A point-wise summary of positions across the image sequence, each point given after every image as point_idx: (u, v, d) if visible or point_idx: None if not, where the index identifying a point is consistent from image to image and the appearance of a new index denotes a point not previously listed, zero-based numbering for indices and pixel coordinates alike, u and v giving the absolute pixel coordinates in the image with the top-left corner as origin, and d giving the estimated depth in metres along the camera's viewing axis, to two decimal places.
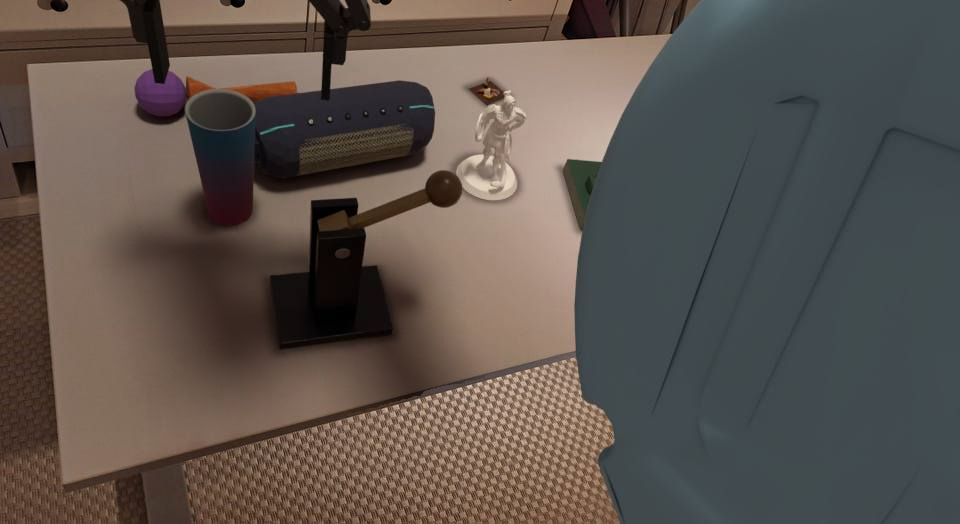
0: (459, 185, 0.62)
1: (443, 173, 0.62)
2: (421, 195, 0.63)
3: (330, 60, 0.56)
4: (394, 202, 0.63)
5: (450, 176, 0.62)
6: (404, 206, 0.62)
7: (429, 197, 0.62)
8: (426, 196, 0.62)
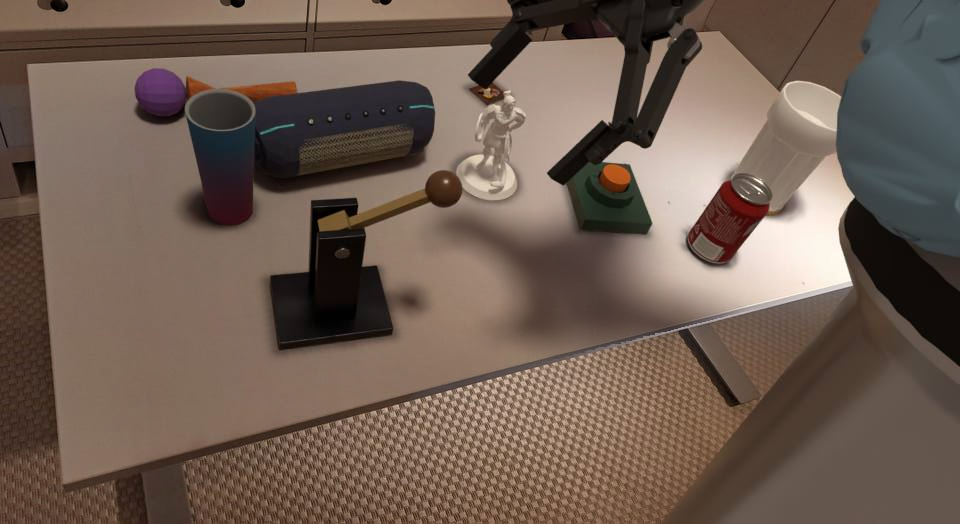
0: (459, 185, 0.62)
1: (443, 173, 0.62)
2: (421, 195, 0.63)
3: (586, 144, 0.56)
4: (394, 202, 0.63)
5: (450, 176, 0.62)
6: (404, 206, 0.62)
7: (429, 197, 0.62)
8: (426, 196, 0.62)
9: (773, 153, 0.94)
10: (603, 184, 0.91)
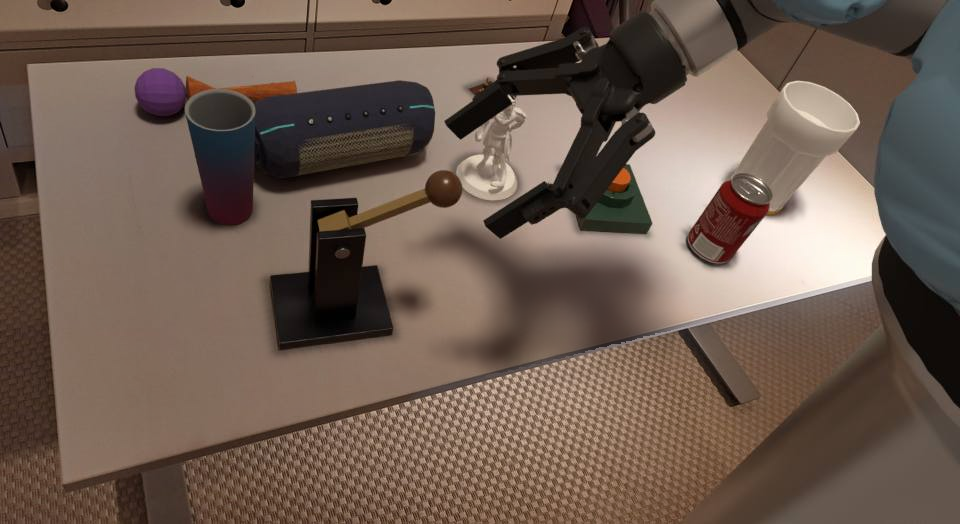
0: (459, 185, 0.62)
1: (443, 173, 0.62)
2: (421, 195, 0.63)
3: (524, 200, 0.57)
4: (394, 202, 0.63)
5: (450, 176, 0.62)
6: (404, 206, 0.62)
7: (429, 197, 0.62)
8: (426, 196, 0.62)
9: (773, 153, 0.94)
10: None
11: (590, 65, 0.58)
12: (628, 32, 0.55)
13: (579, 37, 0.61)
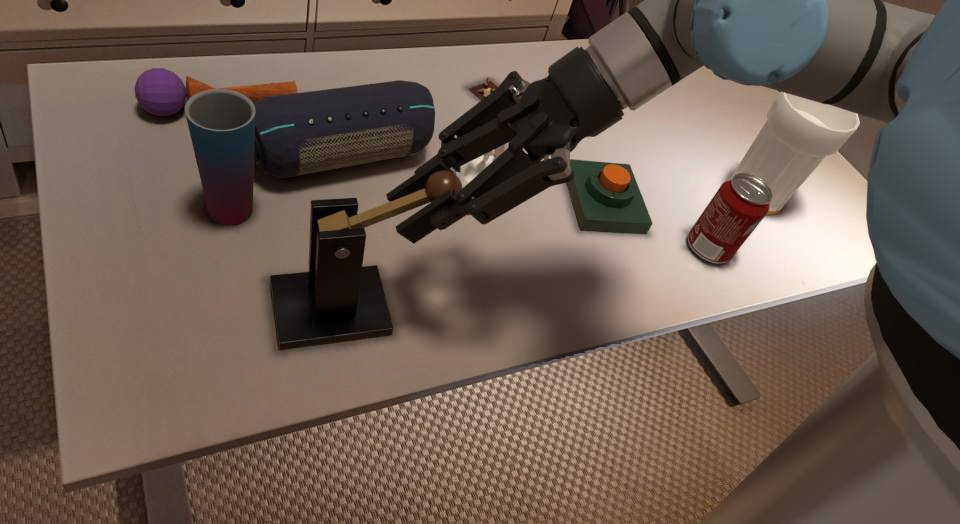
0: (459, 185, 0.62)
1: (443, 173, 0.62)
2: (421, 195, 0.63)
3: (431, 208, 0.61)
4: (394, 202, 0.63)
5: (450, 176, 0.62)
6: (404, 206, 0.62)
7: (429, 197, 0.62)
8: (426, 196, 0.62)
9: (773, 153, 0.94)
10: (603, 184, 0.91)
11: (530, 99, 0.59)
12: (564, 68, 0.56)
13: (511, 81, 0.62)
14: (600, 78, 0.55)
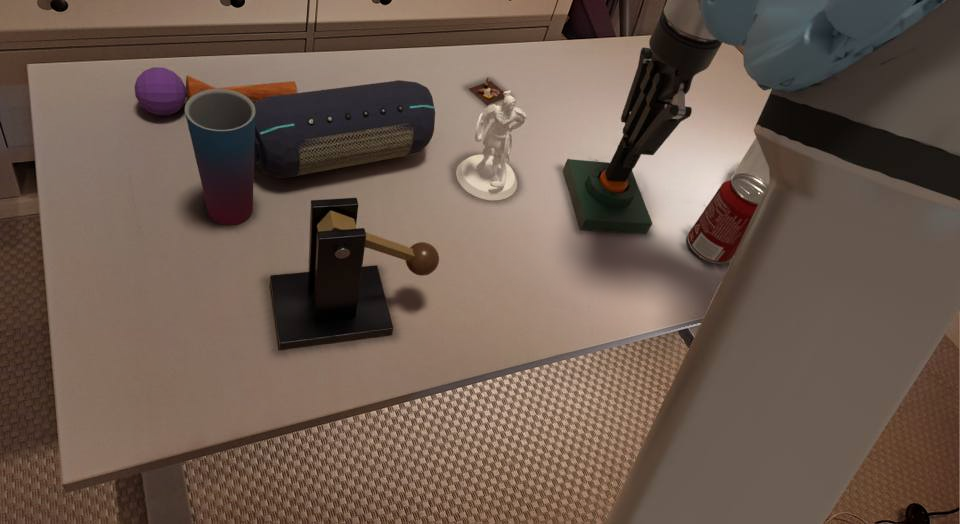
0: None
1: None
2: (410, 252, 0.69)
3: (618, 157, 0.87)
4: (389, 242, 0.67)
5: None
6: (396, 250, 0.67)
7: (416, 258, 0.69)
8: (413, 255, 0.69)
9: None
10: None
11: (650, 65, 0.79)
12: (653, 39, 0.75)
13: (643, 56, 0.82)
14: (675, 36, 0.72)
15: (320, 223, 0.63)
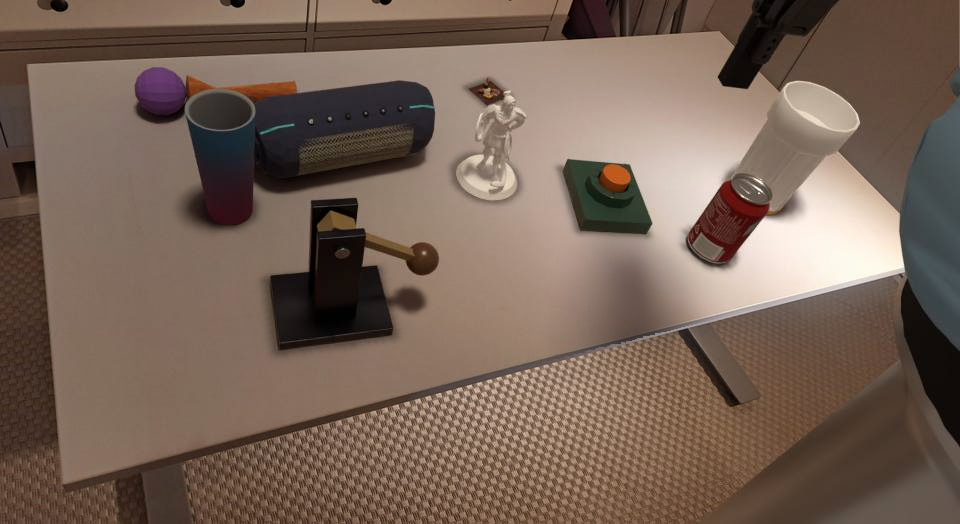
0: None
1: None
2: (410, 252, 0.69)
3: (745, 47, 0.59)
4: (389, 242, 0.67)
5: None
6: (396, 250, 0.67)
7: (416, 258, 0.69)
8: (413, 255, 0.69)
9: (773, 153, 0.94)
10: (603, 184, 0.91)
11: None
12: None
13: None
14: None
15: (320, 223, 0.63)
